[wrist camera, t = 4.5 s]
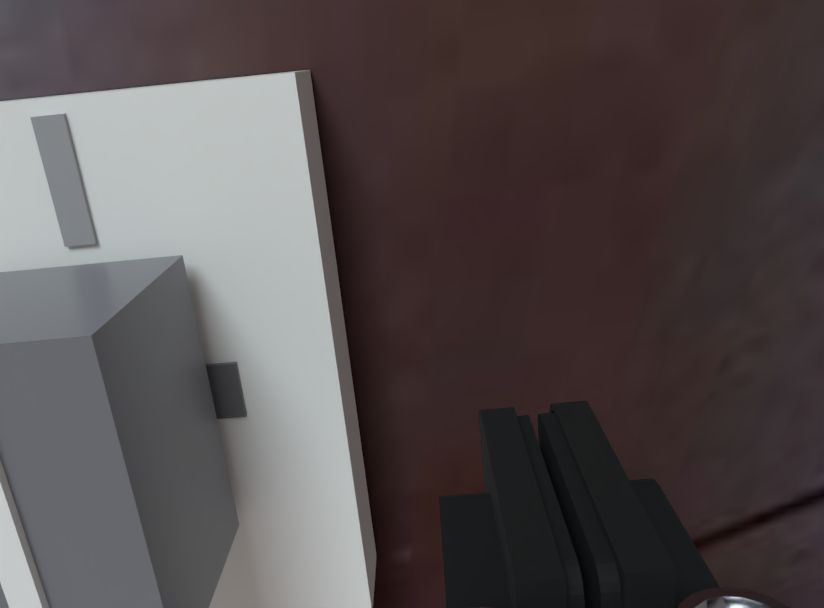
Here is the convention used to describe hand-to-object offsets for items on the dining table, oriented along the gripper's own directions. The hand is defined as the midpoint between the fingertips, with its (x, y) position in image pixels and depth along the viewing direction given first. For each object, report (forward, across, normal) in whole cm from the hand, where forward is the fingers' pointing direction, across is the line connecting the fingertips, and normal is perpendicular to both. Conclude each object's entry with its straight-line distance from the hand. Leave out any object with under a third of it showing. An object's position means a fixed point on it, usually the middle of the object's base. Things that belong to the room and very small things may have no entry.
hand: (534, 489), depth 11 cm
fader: (+3, +8, -1) cm, 9 cm away
